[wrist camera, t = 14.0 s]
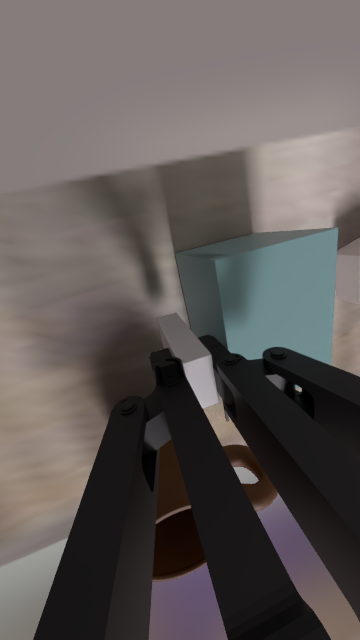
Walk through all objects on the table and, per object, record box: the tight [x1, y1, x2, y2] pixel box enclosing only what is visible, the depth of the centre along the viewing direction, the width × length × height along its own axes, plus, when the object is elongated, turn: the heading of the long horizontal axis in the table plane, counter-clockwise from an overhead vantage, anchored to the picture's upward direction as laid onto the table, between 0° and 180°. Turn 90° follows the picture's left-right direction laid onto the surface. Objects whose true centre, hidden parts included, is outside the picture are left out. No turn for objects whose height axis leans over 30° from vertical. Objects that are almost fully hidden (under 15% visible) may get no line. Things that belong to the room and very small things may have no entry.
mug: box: [152, 439, 278, 582], centre depth 19 cm, size 12×8×9 cm, turn 96°
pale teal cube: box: [175, 228, 338, 389], centre depth 16 cm, size 7×9×8 cm
